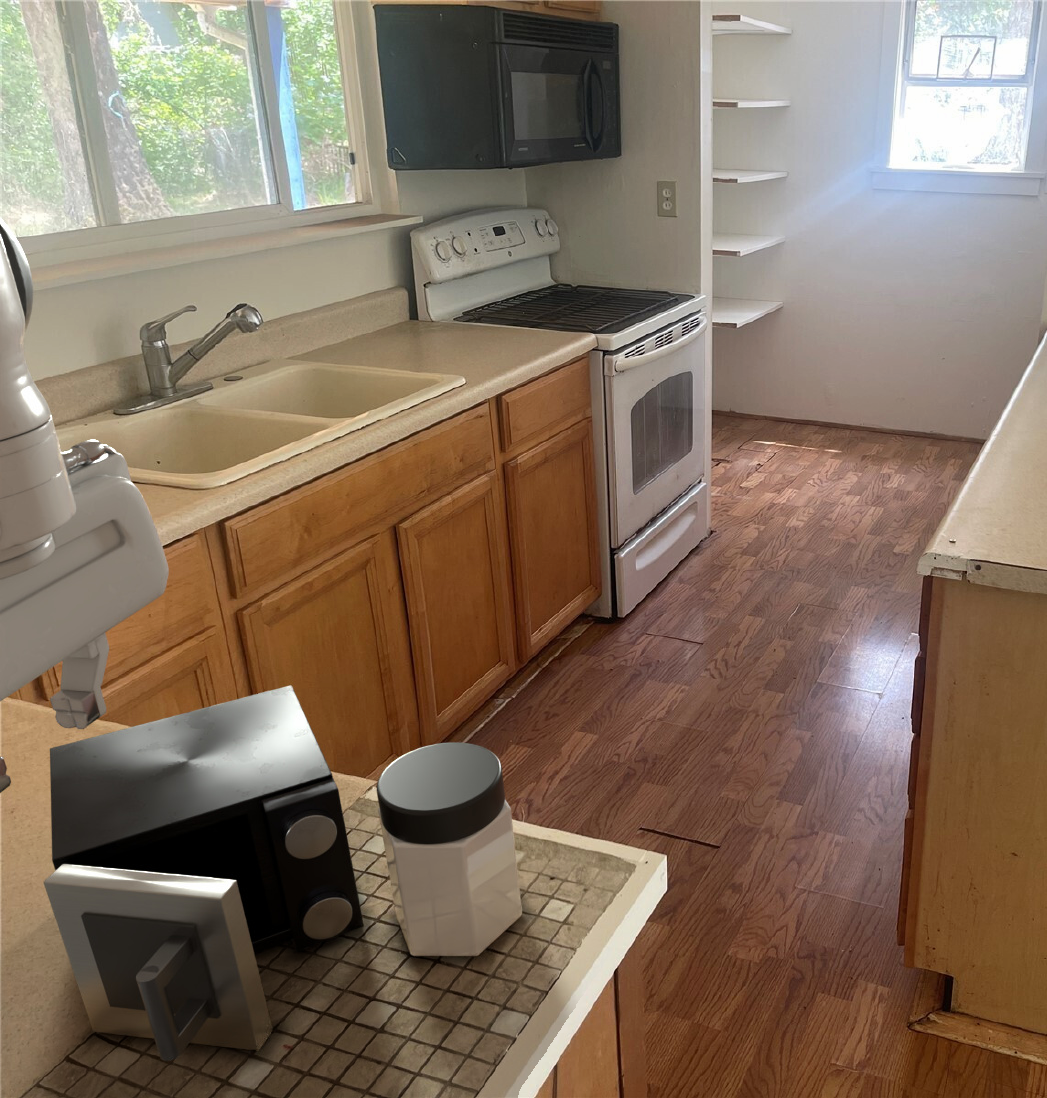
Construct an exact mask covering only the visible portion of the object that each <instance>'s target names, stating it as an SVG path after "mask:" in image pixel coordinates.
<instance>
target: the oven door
mask: <svg viewBox="0 0 1047 1098" xmlns="http://www.w3.org/2000/svg"><path fill="white" fill-rule="evenodd" d="M43 885H44V886H43V887H44V888H45V889H44V890H45V891H46V895H47V898H48V901H49V904H50V907H51V910H52V913H53V915H54V919H55V921H56V924H57V927H58V930H59V932H60V936H61V939H62V942H63V945H64V948H65V951H66V954H67V958H68V960H69V963H70V966H71V970H72V972H73V975H74V978H75V981H76V984H77V987H78V990H79V993H80V996H81V999H82V1002H83V1005H84V1008H85V1011H86V1013H87V1017H88V1020H89V1022H90V1025H91V1029H92V1031H93V1032H95V1033H101V1034H112V1035H121V1036H128V1037H136V1038H137V1037H138V1038H147V1039H153V1040H154V1042H155V1045H156V1049H157V1052H158V1055H159V1058H160V1059H161V1060H162V1061H164V1062H171V1061H173V1060H176V1059H177V1058H178V1057H180V1055H181V1054H182V1053H183V1052H184V1051H185V1049H186V1048H187V1047H188V1045H189V1044H198V1045H203V1046H204V1045H205V1046H214V1047H223V1048H230V1049H231V1048H232V1049H240V1050H246V1051H247V1050H248V1051H254V1052H255V1051H256V1052H259V1051H261V1049H262V1047H263V1046H264V1044H265V1043H266V1041H267V1040H268V1039H269V1037H270V1036H271V1034H272V1032H273V1031H274V1029H273V1025H272V1024H273V1023H272V1020H271V1016H270V1013H269V1012H270V1011H269V1009H268V1008H269V1007H268V1005H267V1001H266V996H265V992H264V988H263V984H262V980H261V976H260V972H259V967H258V963H257V959H256V956H255V955H256V954H254V951H253V946H252V942H251V938H250V934H249V930H248V926H247V922H246V918H245V914H244V910H243V905H242V901H241V897H240V893H239V889H238V885H237V881H236V880H228V879H217V878H207V877H196V876H186V875H175V874H164V873H154V872H143V871H132V870H122V869H111V868H101V867H90V866H79V865H69V864H62V865H61V866H60V867H59V868H58V869H57V870H56V871H55V870H54V871H53V872H52V873H51V874H50V875H49V876H48V877H47V878H46V879H44V880H43Z"/></svg>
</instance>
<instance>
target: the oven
mask: <svg viewBox="0 0 1047 1098" xmlns="http://www.w3.org/2000/svg"><path fill="white" fill-rule="evenodd" d="M49 774H50V779H49V780H50V783H49V784H50V826H51V827H50V828H51V829H50V830H51V861H52V864H53V865H52V866H53V867H54V872H55V871H56V870H57V869H58V868H59V867H60V866H61V865H62V864H69V865H79V866H90V867H101V868H111V869H122V870H132V871H143V872H154V873H164V874H175V875H186V876H196V877H207V878H217V879H228V880H236V881H237V885H238V889H239V893H240V897H241V901H242V905H243V910H244V914H245V918H246V922H247V926H248V930H249V934H250V938H251V942H252V946H253V951H254V955H257V954H259V953H261V952H264V951H266V950H269V949H272V948H275V947H278V946H280V945H283V944H284V943H287V942H288V943H289V942H290V941H292V943H293V946H294V949H295V952H296V953H299V952H301V951H304V950H306V949H309V948H312V947H314V946H317V945H319V944H322V943H325V942H327V941H329V940H333V939H335V938H337V937H340V936H343V935H346V934H348V933H351V932H353V931H356V930H358V929H361V928H364V927H365V924H364V918H363V913H362V908H361V901H360V897H359V891H358V887H357V882H356V875H355V870H354V865H353V861H352V856H351V855H352V854H351V850H350V844H349V839H348V834H347V829H346V828H347V827H346V823H345V818H344V813H343V808H342V801H341V796H340V790H339V788H338V785H337V783H336V781H335V778H334V776H333V772H332V771H331V768H330V766H329V763H328V762H327V760H326V758H325V756H324V754H323V751H322V748H321V747H320V744H319V742H318V740H317V738H316V736H315V733H314V731H313V730H312V727H311V725H310V723H309V721H308V718H307V716H306V714H305V711H304V709H303V707H302V705H301V702H300V701H299V698H298V697H297V694H296V692H295V690H294V687H293V686H292V684H291V685H287V686H283V687H280V688H276V689H272V690H267V691H264V692H260V693H258V694H257V693H256V694H252V695H248V696H245V697H241V698H237V699H233V700H230V701H226V702H222V703H218V704H214V705H211V706H207V707H203V708H199V709H195V710H191V711H188V712H184V713H180V714H176V715H172V716H169V717H164V718H160V719H157V720H152V721H149V722H145V723H141V724H138V725H134V726H130V727H126V728H123V729H119V730H115V731H111V732H107V733H103V734H100V735H96V736H92V737H87V738H84V739H80V740H77V741H72V742H68V743H66V744H61V745H57V746H54V747H50V748H49Z"/></svg>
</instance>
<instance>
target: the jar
mask: <svg viewBox="0 0 1047 1098" xmlns="http://www.w3.org/2000/svg"><path fill="white" fill-rule="evenodd" d="M504 783H505V782H504V775H503V767H502V763H501V761H500V759H499V758H498V756H497V755H496V753H493V752H492V751H491V750H490V749H488V748H486V747H483V746H481V745H478V744H474V743H469V742H442V743H441V742H440V743H435V744H430V745H426V746H422V747H419V748H417V749H414V750H411V751H409V752H406V753H405V754H403V755H401V756H399V757H397V759H395V760H394V761H392V762H391V763H390V764H389V765H388V766H387V767H386V768H385V769H384V770H383V771H382V772H381V774H380V776H379V778H378V780H377V782H376V795H377V801H378V807H379V808H378V810H377V812H378V817H379V822H380V829H381V834H382V840H383V847H384V852H385V859H386V864H387V871H388V876H389V882H390V888H391V893H392V899H393V905H394V911H395V916H396V919H397V921H398V924H399V926H400V930H401V932H402V935H403V938H404V940H405V943H406V946H407V949H408V951H409V954H410V955H411V956H412V957H477V956H479V955H481V954H482V953H483V952H484V951H485V950H486V949H487V948H488V947H489V946H491V944H492V943H494V942H495V941H496V940H497V939H498V938H499V937H500V936H501V935H502V934H504V933H505V932H506V931H507V930H508V929H509V928H510V927H511V926H512V925H513V924H514V923H515V922H517V920H518V919H520V918H521V916H522V915H523V908H522V899H521V888H520V881H519V871H518V861H517V852H516V843H515V833H514V826H513V824H514V823H513V817H512V808H511V806H510V805H509V802H508V801H507V799H506V792H505V784H504Z"/></svg>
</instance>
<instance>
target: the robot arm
mask: <svg viewBox="0 0 1047 1098" xmlns="http://www.w3.org/2000/svg"><path fill="white" fill-rule="evenodd" d="M33 304H34V282H33V277H32V272H31V268H30V264H29V261H28V258H27V257H26V254H25V252H24V250H23V248H22V246H21V244H20V242H19V240H18V239H17V238H16V236H15V235H14V233H13V232H12V230H11V229H10V228H9V226H8V225H7V224H6V223H5V222H4V220H3V219H2V218H1V217H0V702H2V701H3V700H5V699H6V698H8V697H9V696H11V695H13V694H14V693H16V692H18V691H19V690H20V689H22V688H23V687H25V686H26V685H28V684H30V683H31V682H33V681H34V680H35V679H37V678H39V677H40V676H42V675H44V673H47V672H48V671H49V670H51V669H52V668H54V667H55V666H57V665H58V664H60V663H61V662H62V663H61V665H62V666H61V675H60V690H59V691H58V692H56V693H55V694H53V695H52V696H51V697H49V701H50V704H51V707H52V710H53V711H55V716H54V717H55V721H56V723H57V724H58V725H59V726H60V727H62V728H64V729H74V728H76V729H77V730H85V729H87V728H88V726H90V725H92V724H94V722H96V721H97V720H98V719H100V718H102V716H104V715H105V714H106V713H107V706H106V703H105V702H106V701H105V698H104V695H103V692H102V687H101V686H102V685H103V682H104V676H105V672H106V668H107V662H108V657H109V653H110V645H109V641H108V638H107V637H108V636H107V634H106V633H107V632H108V631H110V630H111V629H113V628H115V627H117V625H119V624H120V623H122V622H124V621H125V620H127V619H128V618H130V617H131V616H133V615H134V614H136V613H137V612H139V611H140V610H142V609H143V608H145V607H147V606H148V605H150V604H151V603H153V602H154V601H156V600H157V599H159V598H160V597H161V596H163V595H164V593H165V591H166V589H167V585H168V579H169V573H170V567H169V564H168V561H167V556H166V553H165V550H164V547H163V545H162V541H161V538H160V535H159V533H158V529H157V527H156V524H155V522H154V519H153V517H152V514H151V512H150V510H149V509H150V508H149V507H148V504H147V502H146V500H145V498H144V496H143V494H142V493H141V491H140V489H139V488H138V487H137V485H136V484H135V483H133V481H132V479H131V474H130V470H129V465H128V462H127V460H126V459H125V456H124V455H123V454H122V453H120V452H118V451H117V450H116V449H114V448H113V447H112V446H110V445H108V444H103V443H101V442H100V441H99V440H96V439H89V440H84V441H81V442H79V443H76V444H74V445H73V446H71V447H70V448H69V449H67V450H64V451H62V448H61V445H60V441H59V436H58V434H57V430H56V426H55V422H54V420H53V416H52V412H51V408H50V406H49V404H48V401H47V400H46V398H45V397H44V395H43V393H42V392H41V391H40V390H39V388H38V386H37V384H36V382H35V381H34V379H33V377H32V375H31V372H30V370H29V367H28V363H27V360H26V353H25V336H26V331H27V329H28V326H29V324H30V320H31V315H32V312H33ZM7 771H8V768H7V765H6V762H5V757H4V756H0V794H1V793H3V792H4V791H5V790H6V789H8V788H9V787H10V786H11V784H12V780H11V776H10V775H9V774H7Z"/></svg>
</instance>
